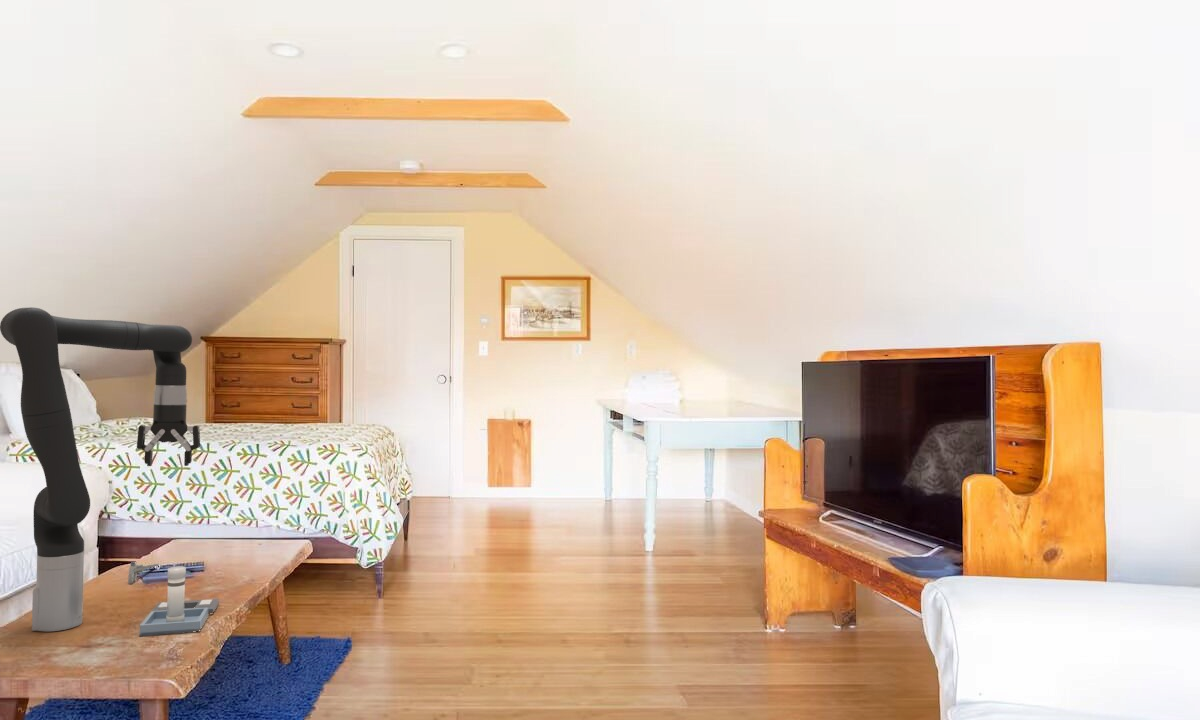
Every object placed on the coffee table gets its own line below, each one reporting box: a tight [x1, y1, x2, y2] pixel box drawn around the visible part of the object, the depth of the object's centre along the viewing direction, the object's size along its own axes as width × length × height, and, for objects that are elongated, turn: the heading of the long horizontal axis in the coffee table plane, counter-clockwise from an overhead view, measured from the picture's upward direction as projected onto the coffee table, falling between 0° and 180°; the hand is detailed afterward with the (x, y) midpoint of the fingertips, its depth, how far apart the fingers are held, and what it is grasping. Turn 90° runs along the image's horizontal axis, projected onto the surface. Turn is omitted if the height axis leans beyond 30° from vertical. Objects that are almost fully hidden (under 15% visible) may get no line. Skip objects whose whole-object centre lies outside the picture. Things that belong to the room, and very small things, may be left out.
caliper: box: [127, 561, 159, 585], centre depth 235 cm, size 20×1×6 cm, turn 9°
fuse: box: [166, 565, 187, 623], centre depth 190 cm, size 4×4×13 cm
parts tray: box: [139, 608, 209, 637], centre depth 190 cm, size 12×11×2 cm
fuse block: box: [151, 598, 220, 614], centre depth 201 cm, size 14×9×2 cm, turn 107°
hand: (168, 465), depth 207 cm, fingers open, 8 cm apart
